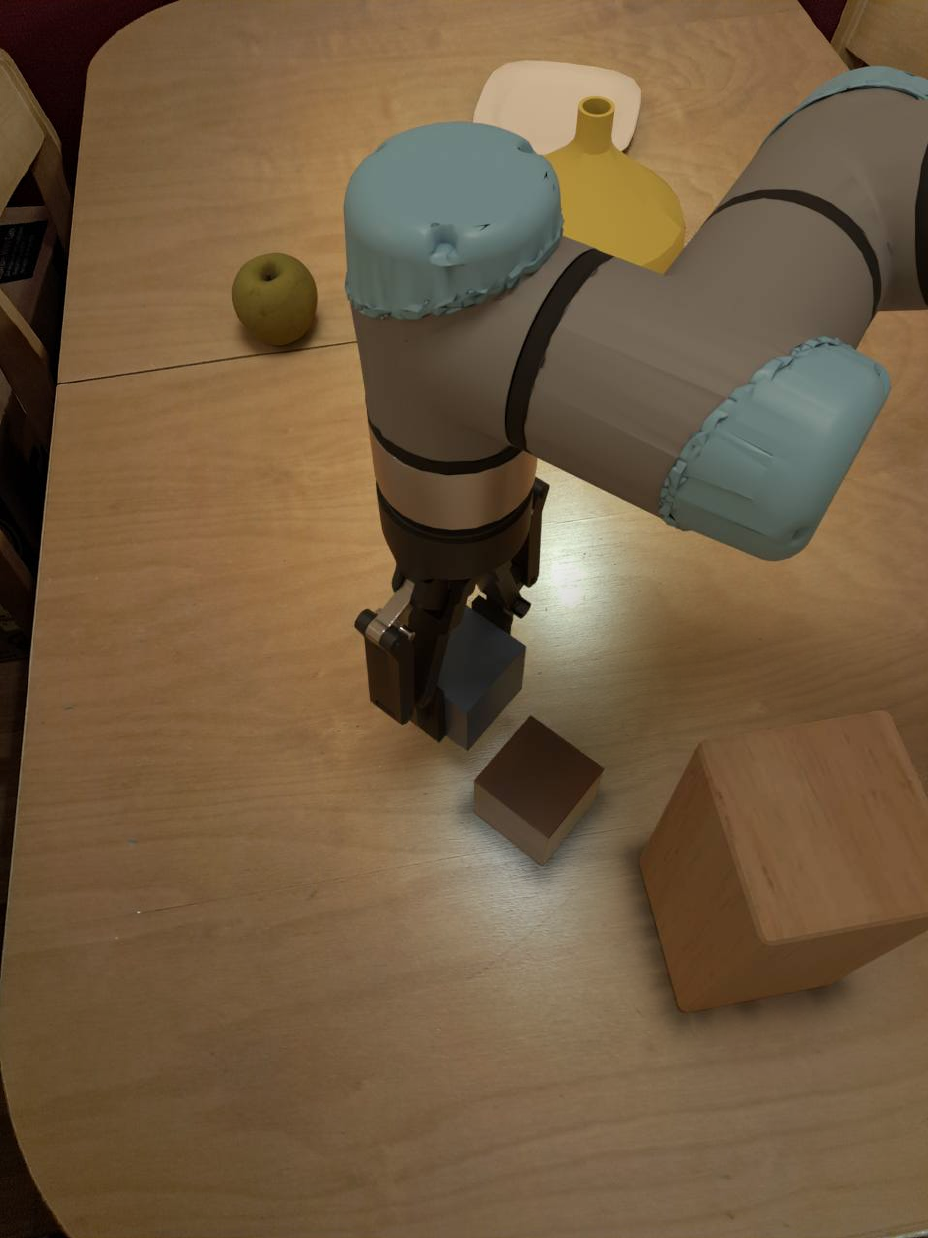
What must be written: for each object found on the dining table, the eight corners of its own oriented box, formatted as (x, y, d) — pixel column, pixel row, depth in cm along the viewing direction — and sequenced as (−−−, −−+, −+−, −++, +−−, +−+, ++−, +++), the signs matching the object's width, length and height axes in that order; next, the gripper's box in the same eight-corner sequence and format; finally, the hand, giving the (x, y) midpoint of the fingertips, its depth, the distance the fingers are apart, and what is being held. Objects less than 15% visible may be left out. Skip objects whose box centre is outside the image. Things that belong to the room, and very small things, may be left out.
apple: (226, 346, 88) (208, 284, 82) (271, 294, 92) (256, 231, 86) (296, 371, 87) (282, 309, 81) (338, 316, 90) (328, 254, 84)
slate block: (522, 688, 64) (526, 645, 59) (467, 752, 62) (466, 713, 57) (454, 641, 66) (453, 595, 61) (398, 700, 64) (392, 658, 59)
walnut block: (594, 800, 65) (605, 768, 60) (542, 867, 63) (548, 839, 58) (526, 749, 67) (530, 714, 62) (473, 812, 65) (473, 780, 60)
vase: (504, 380, 86) (511, 191, 69) (463, 252, 95) (461, 58, 79) (695, 349, 88) (746, 158, 71) (636, 226, 97) (670, 32, 81)
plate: (646, 85, 110) (648, 71, 109) (624, 178, 101) (626, 163, 100) (495, 67, 112) (495, 52, 111) (461, 156, 103) (461, 142, 102)
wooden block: (778, 832, 64) (890, 704, 47) (832, 985, 59) (980, 905, 42) (636, 857, 63) (696, 737, 46) (678, 1015, 58) (764, 945, 41)
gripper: (514, 326, 49) (501, 572, 69) (252, 561, 41) (322, 761, 61) (634, 393, 47) (585, 628, 66) (379, 654, 39) (409, 831, 59)
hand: (459, 691), depth 64 cm, fingers closed on slate block, 6 cm apart
